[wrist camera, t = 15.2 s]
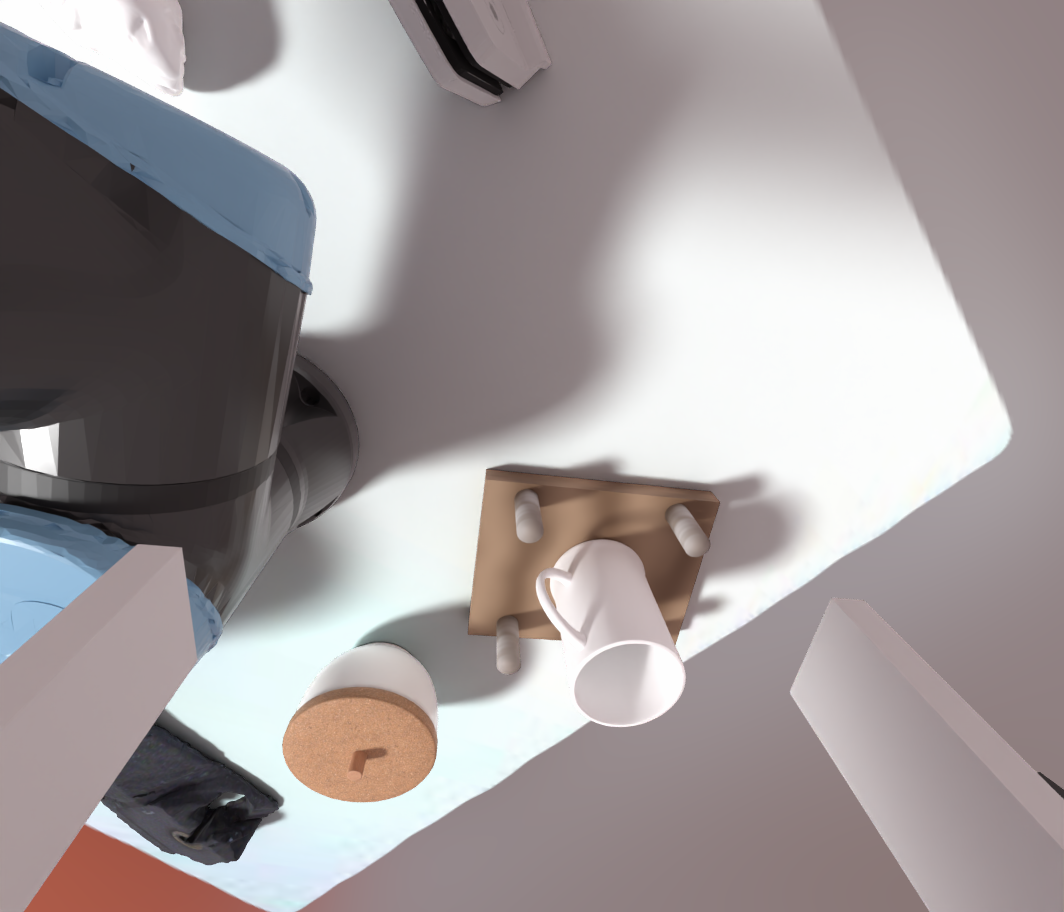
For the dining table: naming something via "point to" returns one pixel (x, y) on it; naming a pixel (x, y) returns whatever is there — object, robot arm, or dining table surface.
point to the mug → (612, 635)
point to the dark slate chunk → (185, 801)
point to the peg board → (565, 521)
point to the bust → (129, 35)
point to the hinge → (475, 44)
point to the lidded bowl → (365, 726)
